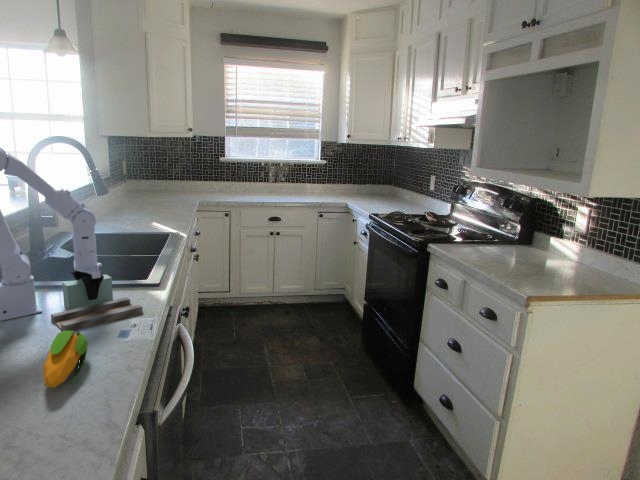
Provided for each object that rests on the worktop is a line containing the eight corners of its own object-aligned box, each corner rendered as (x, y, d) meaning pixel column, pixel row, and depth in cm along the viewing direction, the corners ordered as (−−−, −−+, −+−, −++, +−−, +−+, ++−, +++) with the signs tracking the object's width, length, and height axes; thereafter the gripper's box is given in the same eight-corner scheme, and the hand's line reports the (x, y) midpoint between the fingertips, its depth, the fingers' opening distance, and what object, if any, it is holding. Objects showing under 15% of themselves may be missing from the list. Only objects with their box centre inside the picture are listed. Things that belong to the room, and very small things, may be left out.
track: (64, 332, 114) (64, 326, 114) (51, 320, 121) (50, 314, 121) (142, 313, 128) (142, 306, 128) (127, 302, 135) (126, 297, 135)
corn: (89, 319, 104) (72, 361, 86) (93, 350, 106) (78, 397, 88) (52, 324, 102) (27, 368, 84) (57, 355, 104) (34, 405, 86)
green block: (69, 310, 129) (67, 286, 127) (64, 305, 131) (62, 282, 130) (112, 300, 137) (111, 277, 135) (107, 296, 140) (105, 274, 138)
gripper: (110, 253, 129) (113, 300, 132) (90, 243, 138) (93, 286, 141) (83, 257, 124) (87, 305, 127) (64, 247, 133) (68, 291, 136)
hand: (88, 296), depth 134 cm, fingers open, 6 cm apart
